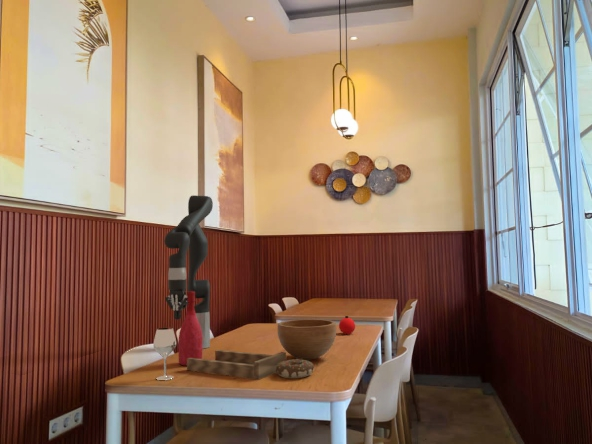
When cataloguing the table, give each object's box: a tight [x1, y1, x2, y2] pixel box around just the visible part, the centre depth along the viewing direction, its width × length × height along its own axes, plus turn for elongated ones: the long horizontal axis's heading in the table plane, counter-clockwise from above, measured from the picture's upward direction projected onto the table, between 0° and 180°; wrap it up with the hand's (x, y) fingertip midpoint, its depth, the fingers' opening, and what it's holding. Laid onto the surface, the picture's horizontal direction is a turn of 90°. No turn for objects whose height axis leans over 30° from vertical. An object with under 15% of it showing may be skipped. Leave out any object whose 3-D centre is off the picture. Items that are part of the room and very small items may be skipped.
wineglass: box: [153, 326, 178, 381], centre depth 170 cm, size 8×8×18 cm
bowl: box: [277, 318, 337, 361], centre depth 196 cm, size 25×25×15 cm
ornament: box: [338, 315, 356, 335], centre depth 257 cm, size 9×9×10 cm
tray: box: [186, 349, 287, 381], centre depth 181 cm, size 34×19×6 cm, turn 60°
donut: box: [275, 358, 315, 379], centre depth 170 cm, size 14×14×5 cm
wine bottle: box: [177, 291, 204, 367], centre depth 194 cm, size 10×10×30 cm
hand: (177, 319), depth 197 cm, fingers closed
